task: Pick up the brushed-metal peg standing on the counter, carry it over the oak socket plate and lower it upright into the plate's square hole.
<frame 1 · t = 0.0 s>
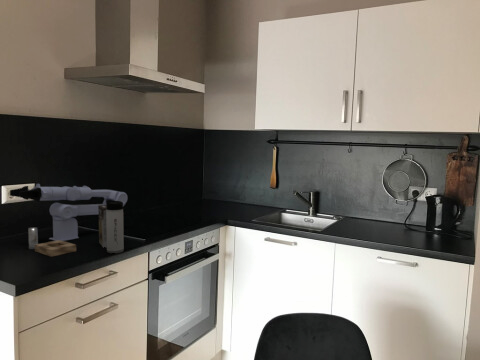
hand: (15, 193, 156), 22 cm above the worktop, tool horizontal, fingers open, 7 cm apart
socket plate: (55, 251, 154), on the worktop
coffee box: (108, 245, 165), on the worktop
metal peg: (33, 248, 158), on the worktop
travel mug: (114, 251, 155), on the worktop
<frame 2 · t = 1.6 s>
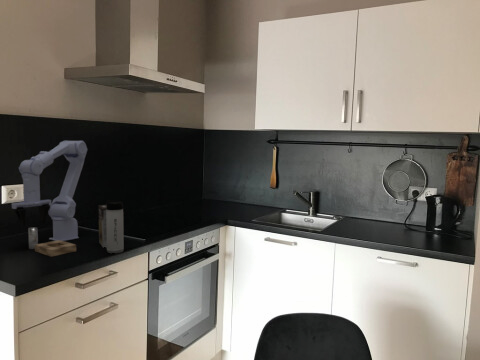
hand: (32, 224, 157), 9 cm above the worktop, tool pointing down, fingers open, 7 cm apart
nothing on the worktop moved.
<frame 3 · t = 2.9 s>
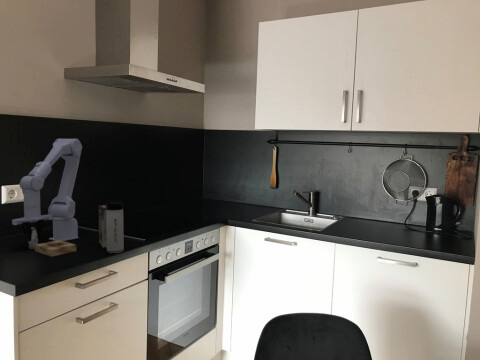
hand: (33, 240, 158), 3 cm above the worktop, tool pointing down, fingers closed on metal peg, 3 cm apart
metal peg: (33, 248, 158), on the worktop, touching gripper
everything else where it was.
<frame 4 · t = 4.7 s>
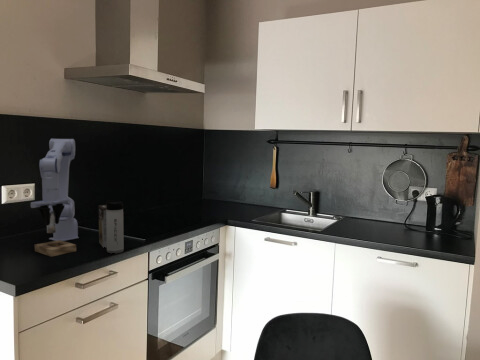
hand: (51, 224, 154), 10 cm above the worktop, tool pointing down, fingers closed on metal peg, 3 cm apart
metal peg: (51, 232, 154), point 7 cm above the worktop, touching gripper
everything else where it was.
when the fingers open (4 cm above the worktop, at t = 6.7 s): metal peg stays where it is, resting in socket plate.
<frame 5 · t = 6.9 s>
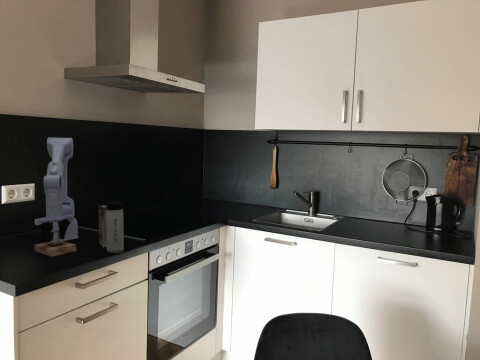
hand: (55, 240, 154), 4 cm above the worktop, tool pointing down, fingers open, 5 cm apart
metal peg: (55, 251, 154), resting in socket plate
everything else where it was.
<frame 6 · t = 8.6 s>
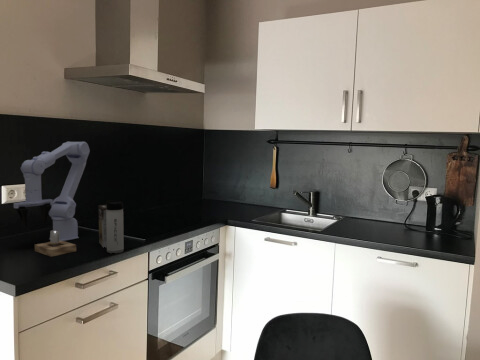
hand: (34, 224, 158), 9 cm above the worktop, tool pointing down, fingers open, 7 cm apart
nothing on the worktop moved.
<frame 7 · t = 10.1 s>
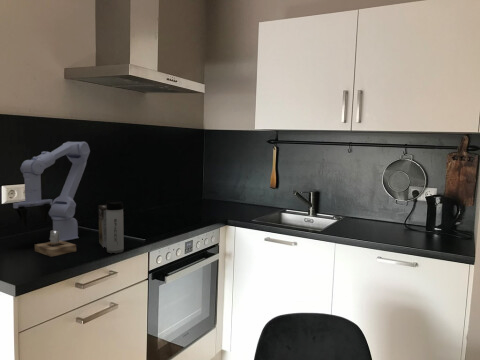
hand: (34, 224, 159), 9 cm above the worktop, tool pointing down, fingers open, 7 cm apart
nothing on the worktop moved.
at the end: metal peg 0.1 cm off-centre on the socket plate, point 0.0 cm above the socket plate's base; metal peg tilted 0°; the gripper is holding nothing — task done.
